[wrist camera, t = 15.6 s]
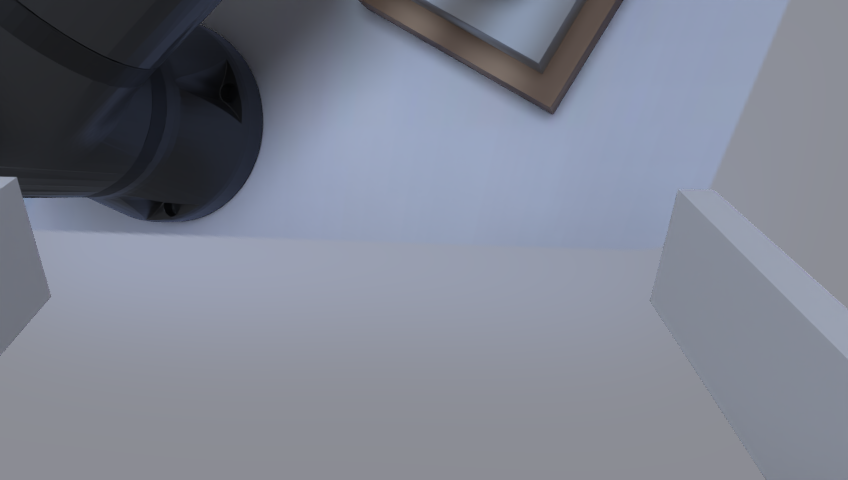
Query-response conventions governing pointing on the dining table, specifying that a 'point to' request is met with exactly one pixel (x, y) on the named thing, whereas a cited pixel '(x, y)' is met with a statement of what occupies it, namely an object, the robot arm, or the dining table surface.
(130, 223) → the dining table surface
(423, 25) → the plinth
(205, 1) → the robot arm
